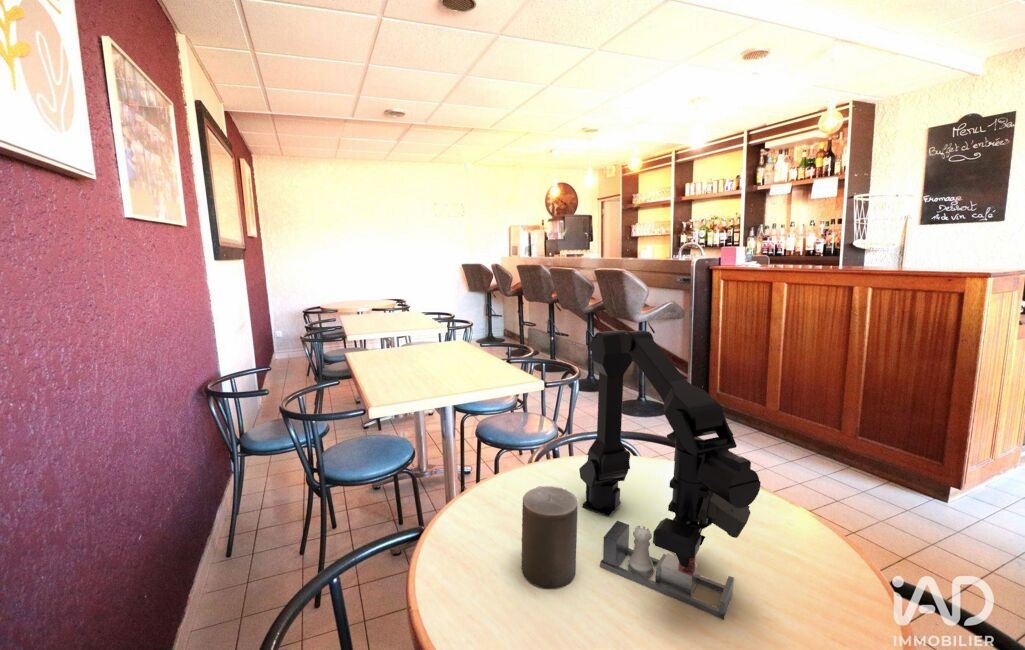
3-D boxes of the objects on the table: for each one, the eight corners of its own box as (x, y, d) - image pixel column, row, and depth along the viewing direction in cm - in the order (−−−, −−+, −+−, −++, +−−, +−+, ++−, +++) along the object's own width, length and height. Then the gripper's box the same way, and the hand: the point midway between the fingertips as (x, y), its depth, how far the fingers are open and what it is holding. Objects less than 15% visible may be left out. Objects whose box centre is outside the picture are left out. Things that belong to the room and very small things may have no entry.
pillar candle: (539, 597, 78) (540, 514, 75) (512, 561, 86) (512, 486, 83) (587, 578, 82) (590, 499, 79) (556, 545, 91) (558, 474, 88)
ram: (655, 584, 80) (657, 533, 78) (662, 570, 83) (665, 521, 82) (690, 598, 77) (693, 546, 75) (696, 584, 80) (700, 533, 78)
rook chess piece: (624, 562, 86) (625, 523, 84) (648, 561, 86) (650, 521, 84) (632, 580, 81) (634, 538, 80) (657, 578, 82) (659, 537, 80)
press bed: (600, 567, 85) (600, 537, 83) (614, 547, 90) (615, 519, 89) (723, 619, 73) (726, 585, 72) (732, 593, 78) (735, 561, 77)
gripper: (735, 519, 63) (727, 620, 66) (757, 465, 78) (750, 549, 81) (653, 494, 70) (649, 587, 72) (689, 448, 85) (684, 527, 87)
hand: (687, 561), depth 78 cm, fingers closed on ram, 3 cm apart
